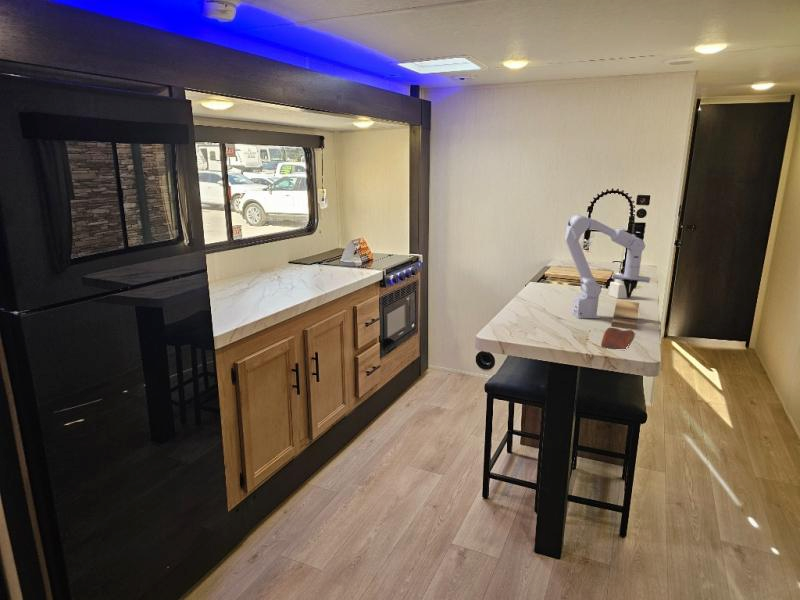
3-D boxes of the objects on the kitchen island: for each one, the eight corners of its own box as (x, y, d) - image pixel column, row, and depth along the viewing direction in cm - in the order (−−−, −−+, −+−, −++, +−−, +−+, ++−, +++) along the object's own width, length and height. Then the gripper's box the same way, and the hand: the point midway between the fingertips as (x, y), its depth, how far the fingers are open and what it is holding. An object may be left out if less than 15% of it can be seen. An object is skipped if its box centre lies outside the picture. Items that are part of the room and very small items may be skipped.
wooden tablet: (607, 329, 210) (607, 325, 210) (634, 333, 206) (634, 329, 205) (596, 348, 187) (597, 344, 187) (626, 353, 183) (627, 349, 182)
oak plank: (636, 323, 217) (636, 319, 216) (613, 320, 221) (613, 316, 220) (638, 305, 224) (639, 302, 223) (616, 303, 228) (616, 300, 227)
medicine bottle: (620, 294, 267) (623, 271, 264) (629, 298, 260) (632, 274, 257) (608, 295, 265) (611, 272, 262) (617, 298, 258) (620, 275, 255)
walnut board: (635, 329, 209) (636, 323, 208) (611, 326, 212) (612, 320, 212) (636, 324, 216) (637, 318, 215) (612, 321, 219) (613, 315, 219)
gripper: (651, 266, 220) (647, 297, 223) (614, 262, 226) (611, 293, 229) (651, 268, 214) (647, 300, 217) (613, 265, 220) (609, 296, 223)
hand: (628, 297), depth 223 cm, fingers closed
